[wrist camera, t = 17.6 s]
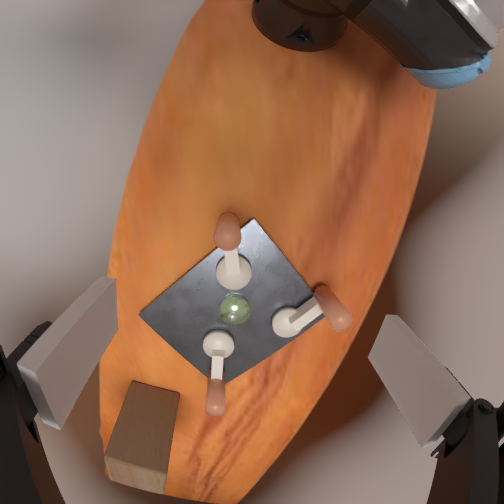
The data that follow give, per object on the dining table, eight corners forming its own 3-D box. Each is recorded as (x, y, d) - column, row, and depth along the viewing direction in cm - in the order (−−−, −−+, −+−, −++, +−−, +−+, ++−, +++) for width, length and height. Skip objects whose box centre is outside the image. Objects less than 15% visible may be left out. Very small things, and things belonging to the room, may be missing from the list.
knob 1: (252, 284, 41) (258, 313, 33) (218, 288, 41) (216, 317, 32) (245, 210, 38) (249, 221, 30) (209, 214, 38) (203, 226, 29)
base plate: (253, 217, 40) (254, 220, 38) (326, 310, 45) (331, 316, 43) (140, 311, 43) (136, 318, 41) (219, 383, 48) (219, 391, 46)
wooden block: (131, 409, 49) (109, 480, 30) (131, 379, 47) (103, 457, 28) (175, 420, 51) (164, 495, 31) (180, 392, 48) (166, 475, 29)
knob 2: (203, 328, 43) (199, 363, 34) (235, 331, 43) (236, 365, 35) (202, 378, 46) (199, 414, 37) (230, 380, 46) (231, 416, 38)
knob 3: (283, 338, 44) (294, 372, 36) (265, 319, 43) (273, 352, 34) (337, 298, 43) (359, 326, 35) (321, 277, 42) (342, 302, 33)
